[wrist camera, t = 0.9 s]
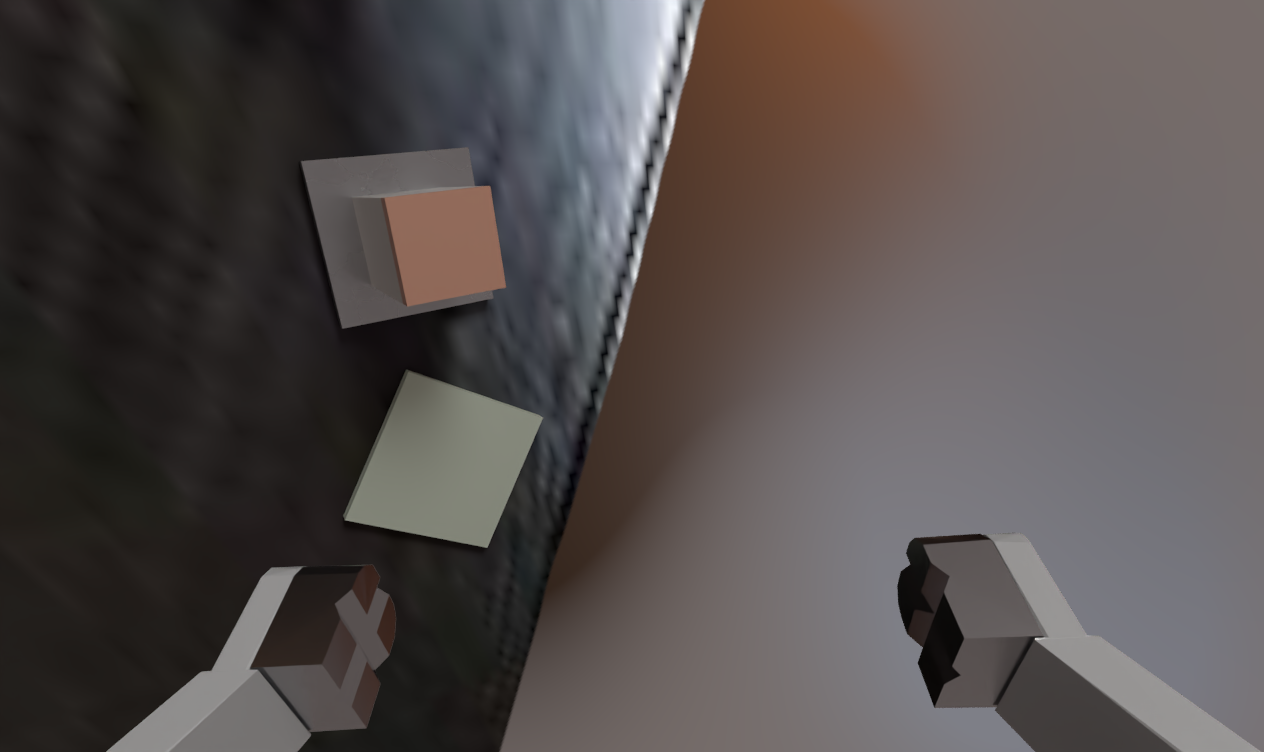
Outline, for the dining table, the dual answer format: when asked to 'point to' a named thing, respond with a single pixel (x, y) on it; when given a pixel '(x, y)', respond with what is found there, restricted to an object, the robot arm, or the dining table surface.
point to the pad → (443, 462)
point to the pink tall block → (430, 243)
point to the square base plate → (340, 232)
